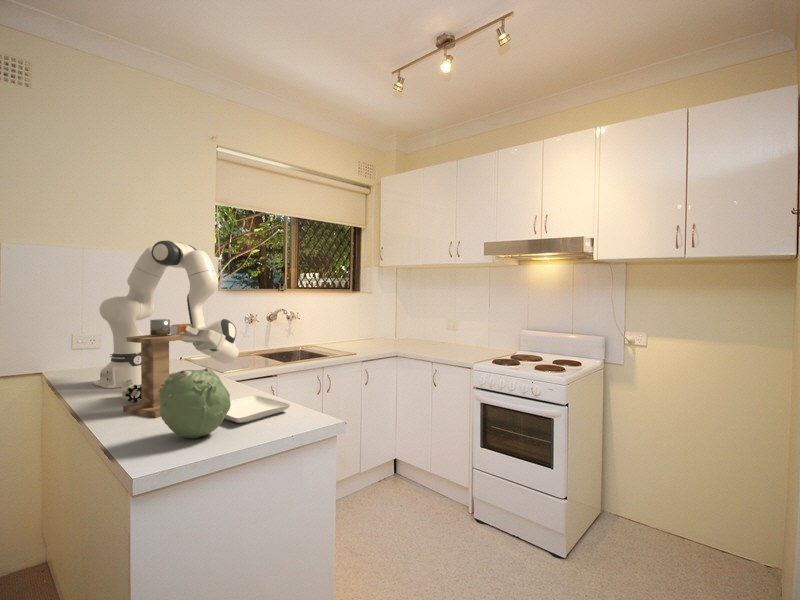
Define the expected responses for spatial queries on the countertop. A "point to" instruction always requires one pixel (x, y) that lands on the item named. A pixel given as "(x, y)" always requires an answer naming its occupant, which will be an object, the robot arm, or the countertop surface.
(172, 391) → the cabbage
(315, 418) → the countertop surface
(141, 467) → the countertop surface
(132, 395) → the valve
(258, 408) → the salad plate
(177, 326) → the valve lever
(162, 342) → the stand
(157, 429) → the countertop surface
